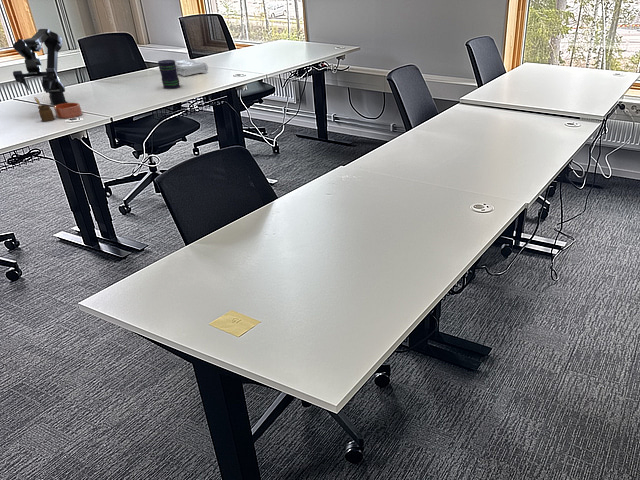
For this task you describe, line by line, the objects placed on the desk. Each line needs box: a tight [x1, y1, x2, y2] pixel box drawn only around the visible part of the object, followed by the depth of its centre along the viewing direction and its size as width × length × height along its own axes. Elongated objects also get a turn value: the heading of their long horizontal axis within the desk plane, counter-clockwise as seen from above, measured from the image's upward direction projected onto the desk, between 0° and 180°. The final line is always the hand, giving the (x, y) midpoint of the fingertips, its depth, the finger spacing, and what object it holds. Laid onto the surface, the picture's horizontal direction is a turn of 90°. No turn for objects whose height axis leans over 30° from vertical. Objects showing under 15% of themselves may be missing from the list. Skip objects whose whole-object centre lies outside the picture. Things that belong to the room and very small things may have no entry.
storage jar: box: [157, 59, 181, 90], centre depth 344 cm, size 10×10×15 cm
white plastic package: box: [174, 58, 209, 77], centre depth 383 cm, size 19×28×8 cm
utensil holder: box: [33, 96, 55, 122], centre depth 285 cm, size 6×6×12 cm
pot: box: [53, 102, 83, 119], centre depth 294 cm, size 12×12×5 cm
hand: (39, 89), depth 286 cm, fingers open, 9 cm apart
